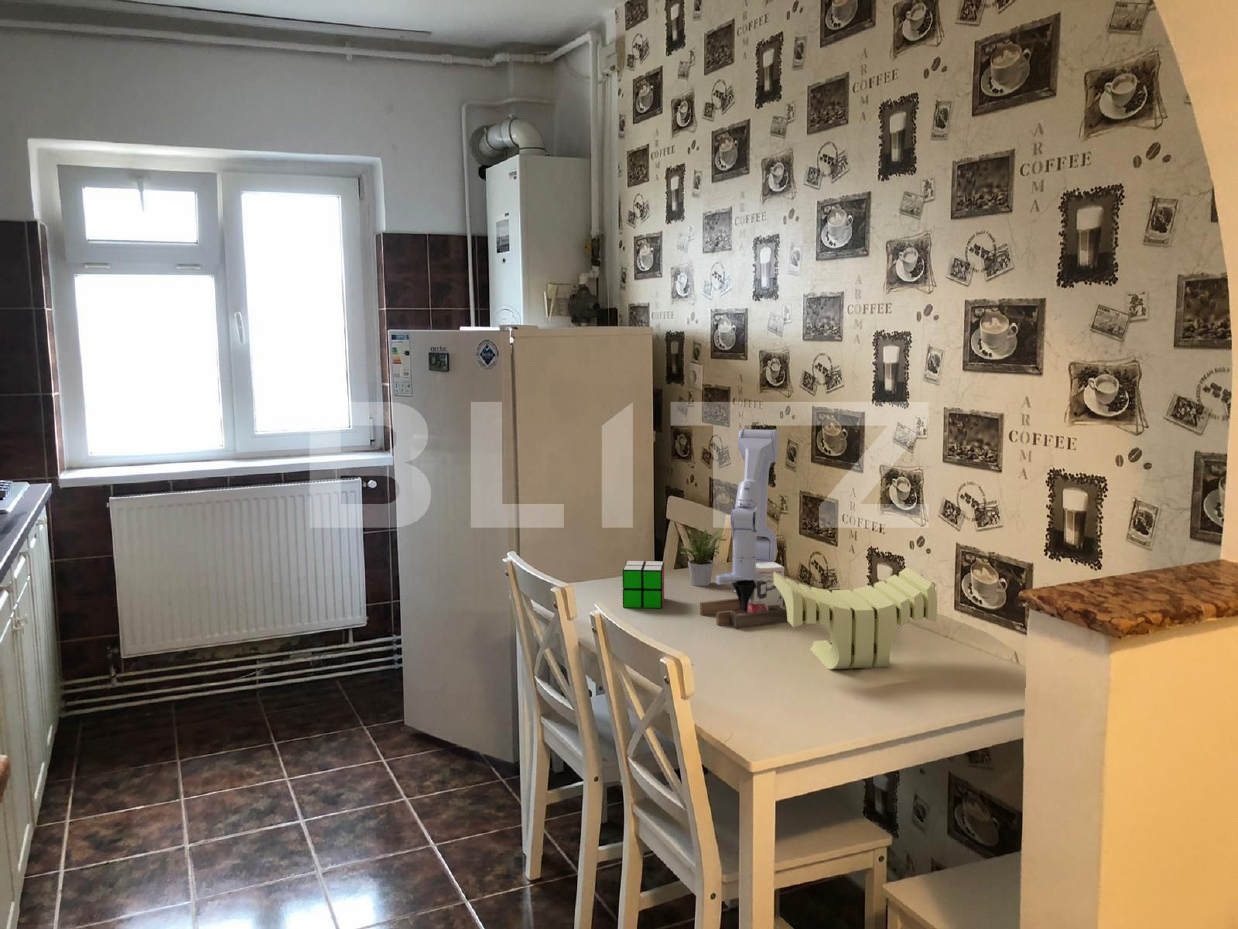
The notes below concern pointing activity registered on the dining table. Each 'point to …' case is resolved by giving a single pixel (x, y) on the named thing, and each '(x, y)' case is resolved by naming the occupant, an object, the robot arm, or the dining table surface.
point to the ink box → (765, 588)
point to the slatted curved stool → (859, 616)
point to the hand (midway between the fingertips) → (743, 610)
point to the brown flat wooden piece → (728, 615)
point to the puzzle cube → (643, 584)
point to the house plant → (701, 558)
